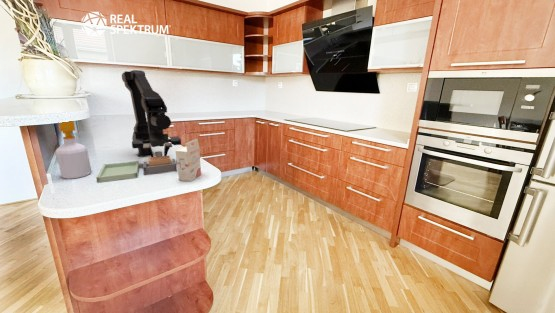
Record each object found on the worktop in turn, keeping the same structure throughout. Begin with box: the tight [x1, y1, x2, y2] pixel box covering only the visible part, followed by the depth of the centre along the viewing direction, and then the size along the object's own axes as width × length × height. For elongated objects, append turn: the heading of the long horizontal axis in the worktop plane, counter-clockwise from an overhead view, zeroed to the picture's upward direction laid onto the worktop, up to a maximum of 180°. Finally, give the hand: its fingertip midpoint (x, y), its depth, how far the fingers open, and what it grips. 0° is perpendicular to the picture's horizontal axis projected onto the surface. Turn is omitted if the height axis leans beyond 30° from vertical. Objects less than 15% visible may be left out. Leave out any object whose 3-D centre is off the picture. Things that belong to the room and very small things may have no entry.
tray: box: [96, 160, 140, 184], centre depth 97 cm, size 16×13×2 cm
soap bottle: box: [55, 120, 93, 180], centre depth 91 cm, size 9×9×25 cm
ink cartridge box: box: [175, 138, 202, 182], centre depth 93 cm, size 9×5×15 cm, turn 168°
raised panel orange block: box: [147, 150, 172, 166], centre depth 104 cm, size 8×11×6 cm
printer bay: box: [142, 158, 178, 176], centre depth 101 cm, size 8×12×3 cm, turn 117°
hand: (159, 160), depth 108 cm, fingers open, 4 cm apart
